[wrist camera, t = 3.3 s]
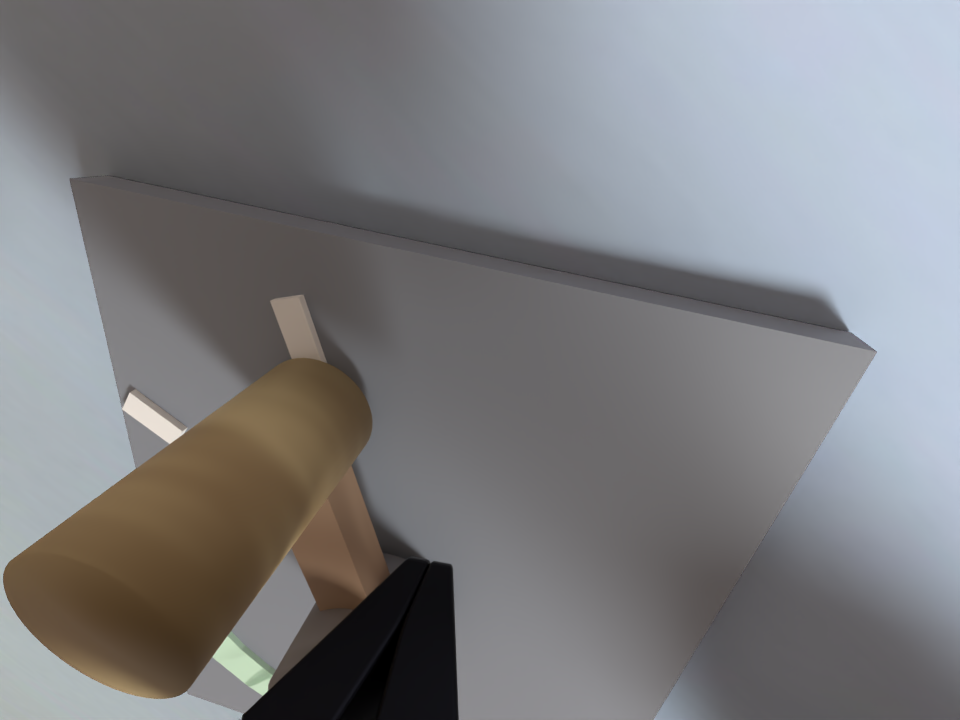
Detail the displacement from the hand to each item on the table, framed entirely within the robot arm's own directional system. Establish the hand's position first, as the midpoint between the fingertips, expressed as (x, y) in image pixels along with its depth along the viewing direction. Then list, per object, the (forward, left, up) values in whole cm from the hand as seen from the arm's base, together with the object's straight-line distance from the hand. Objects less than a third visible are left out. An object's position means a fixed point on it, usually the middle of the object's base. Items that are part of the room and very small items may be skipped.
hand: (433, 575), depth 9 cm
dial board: (+2, +6, -5) cm, 8 cm away
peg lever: (+3, +3, -4) cm, 6 cm away
